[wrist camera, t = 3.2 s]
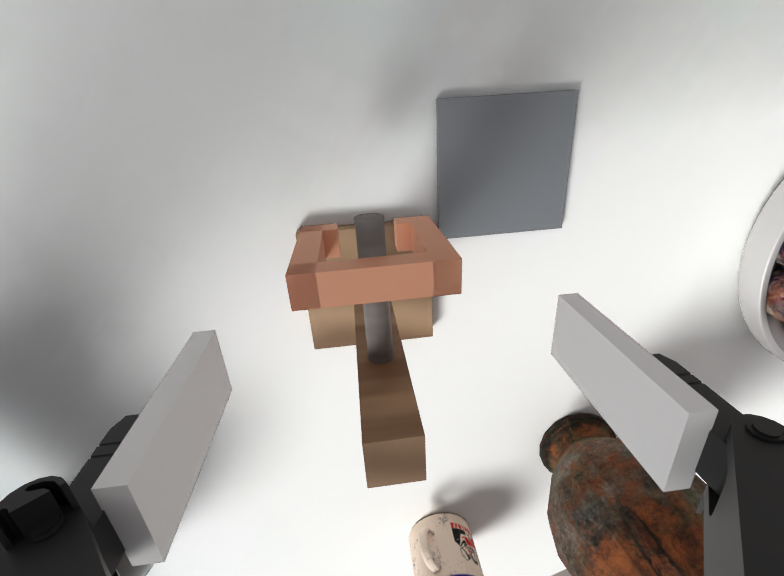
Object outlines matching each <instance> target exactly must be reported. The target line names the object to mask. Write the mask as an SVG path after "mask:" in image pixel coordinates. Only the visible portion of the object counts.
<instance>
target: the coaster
mask: <svg viewBox="0 0 784 576" xmlns="http://www.w3.org/2000/svg"><path fill="white" fill-rule="evenodd" d="M578 91H579V90H566V91H550V92H535V93H520V94H504V95H489V96H474V97H459V98H443V99H437V182H438V229H439V230H440V231H441V232H442V234H443V235H444V236H445V238H446V239H448V238H459V237H470V236H481V235H491V234H502V233H513V232H524V231H534V230H545V229H556V228H562V222H563V213H564V205H565V197H566V189H567V181H568V172H569V164H570V156H571V148H572V140H573V131H574V123H575V115H576V107H577V99H578Z"/></svg>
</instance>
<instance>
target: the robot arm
mask: <svg viewBox="0 0 784 576" xmlns="http://www.w3.org/2000/svg"><path fill="white" fill-rule="evenodd" d="M551 354H552V356H553V357H554V358H555V359H556V361H557V362H558V363H559V364H560V366H561V367H562V368H563V369H564V370H565V372H566V373H567V374H568V375H569V377H570V378H571V379H572V380H573V382H574V383H575V384H576V385H577V386H578V388H579V389H580V390H581V391H582V393H583V394H584V395H585V396H586V398H587V399H588V400H589V401H590V402H591V404H592V405H593V406H594V407H595V409H596V410H597V411H598V412H599V414H600V415H601V416H602V417H603V418H604V420H605V421H606V422H607V423H608V425H609V426H610V427H611V428H612V430H613V431H614V432H615V433H616V434H617V436H618V437H619V438H620V439H621V441H622V442H623V443H624V444H625V446H626V447H627V448H628V449H629V450H630V452H631V453H632V454H633V455H634V457H635V458H636V459H637V460H638V462H639V463H640V464H641V465H642V466H643V468H644V469H645V470H646V471H647V473H648V474H649V475H650V476H651V477H652V479H653V480H654V481H655V482H656V484H657V485H658V486H659V487H660V489H661V490H662V491H663V492H667V491H675V490H682V489H689V488H690V487H691V484H692V481H693V479H694V476H695V473H696V472H697V473H698V475H699V476H700V477H701V478H702V479H703V480H704V481H705V482H706V483H707V485H706V488H705V490H704V493H703V495H702V498H701V500H700V503H699V506H698V508H697V511H696V513H698V514H701V513H702V511H703V509H704V576H784V426H783V425H781V424H779V423H777V422H776V421H773V420H770V419H768V418H765V417H762V416H757V415H752V414H742V413H740V412H739V411H738V410H737V409H735V408H734V407H733V406H731V405H730V404H729V403H728V402H726V401H725V400H724V399H723V398H721V397H720V396H719V395H718V394H716V393H715V392H714V391H712V390H711V389H710V388H709V387H707V386H706V385H705V384H702V383H701V381H700V380H698V379H697V378H696V377H695V376H693V375H690V372H688V371H687V370H686V369H685V368H683V367H682V366H681V365H679V364H678V363H677V362H675V361H673V360H671V359H669V358H667V357H665V356H663V355H661V354H650V353H649V352H648V351H647V350H646V349H644V348H643V347H642V346H641V345H640V344H638V343H637V342H636V341H635V340H634V339H632V338H631V337H630V336H629V335H627V334H626V333H625V332H624V331H623V330H621V329H620V328H619V327H618V326H617V325H615V324H614V323H613V322H612V321H611V320H609V319H608V318H607V317H606V316H605V315H603V314H602V313H601V312H600V311H599V310H597V309H596V308H595V307H594V306H592V305H591V304H590V303H589V302H588V301H586V300H585V299H584V298H583V297H582V296H580V295H579V294H578V293H574V294H564V295H559V296H558V304H557V312H556V319H555V327H554V334H553V342H552V350H551ZM231 391H232V388H231V384H230V381H229V377H228V374H227V370H226V367H225V363H224V360H223V356H222V353H221V349H220V346H219V342H218V339H217V335H216V332H215V330H211V331H201V332H194V333H193V334H192V336H191V337H190V339H189V340H188V342H187V343H186V345H185V346H184V348H183V349H182V351H181V352H180V354H179V355H178V357H177V358H176V360H175V362H174V363H173V365H172V366H171V368H170V369H169V371H168V372H167V374H166V375H165V377H164V378H163V380H162V381H161V383H160V384H159V386H158V387H157V389H156V391H155V392H154V394H153V395H152V397H151V398H150V400H149V401H148V403H147V404H146V406H145V407H144V409H143V410H142V412H141V413H140V414H139V415H130V416H126V417H124V418H123V419H122V420H121V421H120V422H118V423H117V424H116V425H115V426H114V427H112V428H111V429H110V430H109V432H108V433H107V434H106V436H105V437H104V439H103V440H102V441H101V443H100V446H99V447H97V448H96V450H95V451H94V453H93V454H92V455H91V459H89V460H88V461H87V462H86V464H85V465H84V467H83V468H82V469H81V471H80V472H79V474H78V475H77V476H76V478H75V479H74V481H73V482H72V483H71V485H70V486H68V484H67V482H66V481H65V480H64V479H63V478H62V477H56V476H49V477H44V478H39V479H37V480H34V481H32V482H29V483H27V484H25V485H23V486H21V487H20V488H18V489H16V490H15V491H13V492H12V493H10V494H9V495H8V496H6V497H5V498H4V499H3V500H2V501H1V502H0V576H146V575H147V573H148V572H149V571H150V570H151V568H152V566H153V564H154V563H160V562H165V559H166V557H167V554H168V552H169V549H170V547H171V544H172V542H173V539H174V536H175V534H176V531H177V529H178V526H179V524H180V521H181V519H182V516H183V513H184V511H185V508H186V506H187V503H188V501H189V498H190V496H191V493H192V491H193V488H194V485H195V483H196V480H197V478H198V475H199V473H200V470H201V468H202V465H203V462H204V460H205V457H206V455H207V452H208V450H209V447H210V445H211V442H212V440H213V437H214V434H215V432H216V429H217V427H218V424H219V422H220V419H221V417H222V414H223V411H224V409H225V406H226V404H227V401H228V399H229V396H230V394H231Z"/></svg>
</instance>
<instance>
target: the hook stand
mask: <svg viewBox="0 0 784 576" xmlns="http://www.w3.org/2000/svg"><path fill="white" fill-rule="evenodd" d="M354 221H355V224H352V225H341V226H338V233H339V241H340V249H341V257H336V258H326V261H336V260H347V259H357V258H368V257H378V256H389V255H399V254H410V253H413V252H412V250H410V251H399V252H398V251H397V248H396V246H395V234H394V221H386V222H384V215H382V214H378V213H367V214H361V215H358V216H356V217H355V218H354ZM300 230H301V229H297V232H296V239H298V236H299V233H300ZM308 311H309V317H310V323H311V329H312V335H313V341H314V348H315V349H322V348H331V347H340V346H349V345H356V348H357V365H358V381H359V398H360V415H361V431H362V446H363V454H364V462H365V471H366V479H367V487H368V488H373V487H380V486H387V485H394V484H401V483H409V482H416V481H423V480H426V455H425V434H424V430H423V426H422V422H421V418H420V414H419V410H418V406H417V402H416V398H415V394H414V390H413V386H412V382H411V378H410V374H409V370H408V366H407V362H406V358H405V354H404V350H403V346H402V342H401V340H403V339H412V338H421V337H430V336H433V323H432V297H424V298H414V299H404V300H395V301H385V302H375V303H366V304H356V305H347V306H337V307H327V308H318V309H308Z"/></svg>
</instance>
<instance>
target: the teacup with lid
mask: <svg viewBox="0 0 784 576" xmlns="http://www.w3.org/2000/svg"><path fill="white" fill-rule="evenodd" d="M409 544H410V551H411V557H412V564H413V570H414V576H484V575H483V572H482V569H481V565H480V562H479V559H478V555H477V552H476V549H475V545H474V542H473V539H472V535H471V532H470V529H469V526H468V524H467V522H466V521H465V520H464V519H463V518H461V517H460V516H458V515H455V514H450V513H439V514H434V515H431V516H428V517H426V518H424V519H422V520H420V521H419V522H418V523H417V524H416V525H415V526H414V527H413V528H412V530H411V532H410V535H409Z"/></svg>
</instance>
